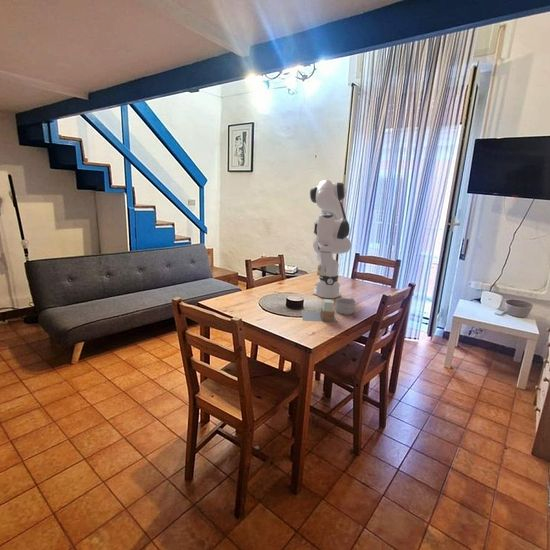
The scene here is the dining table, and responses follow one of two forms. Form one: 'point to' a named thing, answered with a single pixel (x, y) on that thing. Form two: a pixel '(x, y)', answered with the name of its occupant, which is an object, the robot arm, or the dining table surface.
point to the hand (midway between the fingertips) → (321, 272)
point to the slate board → (313, 316)
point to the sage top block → (328, 305)
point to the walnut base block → (327, 315)
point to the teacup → (345, 306)
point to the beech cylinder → (320, 271)
